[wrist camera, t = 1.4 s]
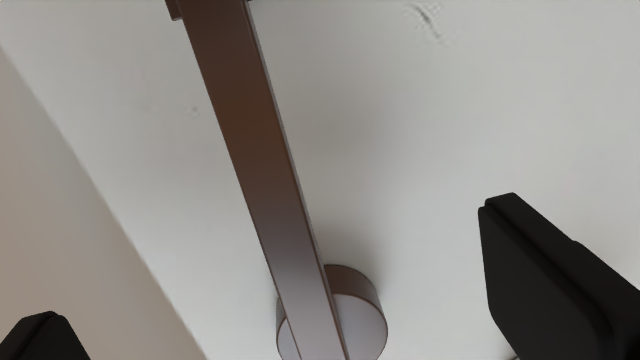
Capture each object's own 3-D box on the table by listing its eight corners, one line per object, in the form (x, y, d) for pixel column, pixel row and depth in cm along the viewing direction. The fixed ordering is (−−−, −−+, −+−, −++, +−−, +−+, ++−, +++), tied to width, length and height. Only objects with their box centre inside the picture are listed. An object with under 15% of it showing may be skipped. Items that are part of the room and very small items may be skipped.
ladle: (386, 333, 25) (429, 465, 18) (291, 357, 25) (297, 498, 18) (297, -47, 17) (312, -74, 10) (159, -11, 17) (80, -13, 10)
